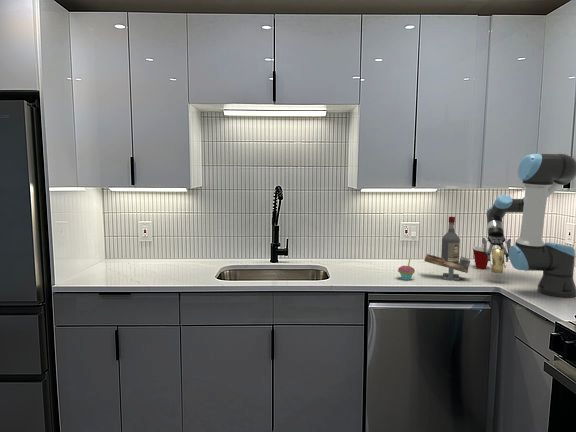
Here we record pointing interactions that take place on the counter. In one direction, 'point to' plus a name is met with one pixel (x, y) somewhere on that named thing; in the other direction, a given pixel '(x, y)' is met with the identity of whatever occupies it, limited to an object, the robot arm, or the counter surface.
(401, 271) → the cupcake
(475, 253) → the plastic cup
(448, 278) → the pivot stand
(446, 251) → the liquor
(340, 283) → the counter surface
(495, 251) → the cylinder
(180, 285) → the counter surface
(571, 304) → the counter surface
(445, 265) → the balance beam
